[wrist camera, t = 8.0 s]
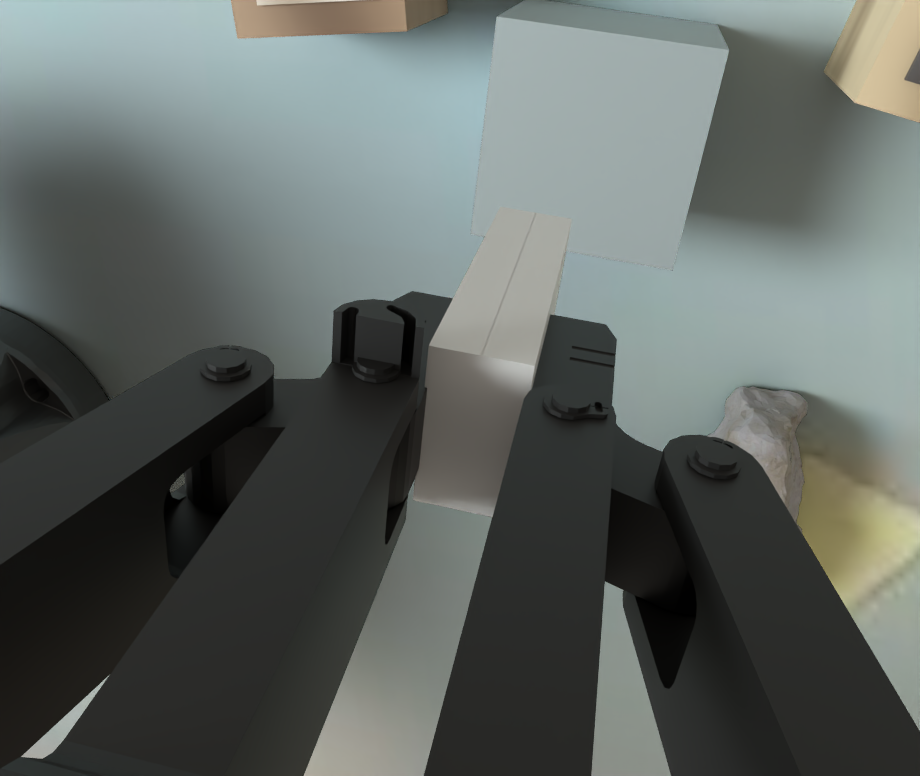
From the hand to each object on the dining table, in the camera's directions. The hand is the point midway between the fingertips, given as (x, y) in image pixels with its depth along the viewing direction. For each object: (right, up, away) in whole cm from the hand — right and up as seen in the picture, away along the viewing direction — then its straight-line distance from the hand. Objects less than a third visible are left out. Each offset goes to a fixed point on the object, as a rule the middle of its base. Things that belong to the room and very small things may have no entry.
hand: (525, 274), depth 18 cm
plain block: (+4, +9, +15) cm, 18 cm away
